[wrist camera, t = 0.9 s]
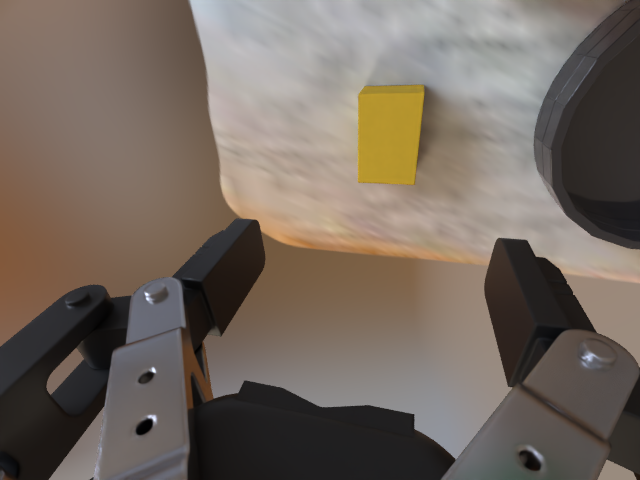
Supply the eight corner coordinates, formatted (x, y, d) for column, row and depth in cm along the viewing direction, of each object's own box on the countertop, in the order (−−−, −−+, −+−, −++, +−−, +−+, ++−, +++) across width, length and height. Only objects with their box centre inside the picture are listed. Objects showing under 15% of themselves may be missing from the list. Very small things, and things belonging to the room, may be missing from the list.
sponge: (364, 86, 23) (358, 93, 20) (423, 84, 22) (424, 92, 19) (363, 167, 26) (357, 182, 24) (414, 169, 25) (414, 185, 23)
